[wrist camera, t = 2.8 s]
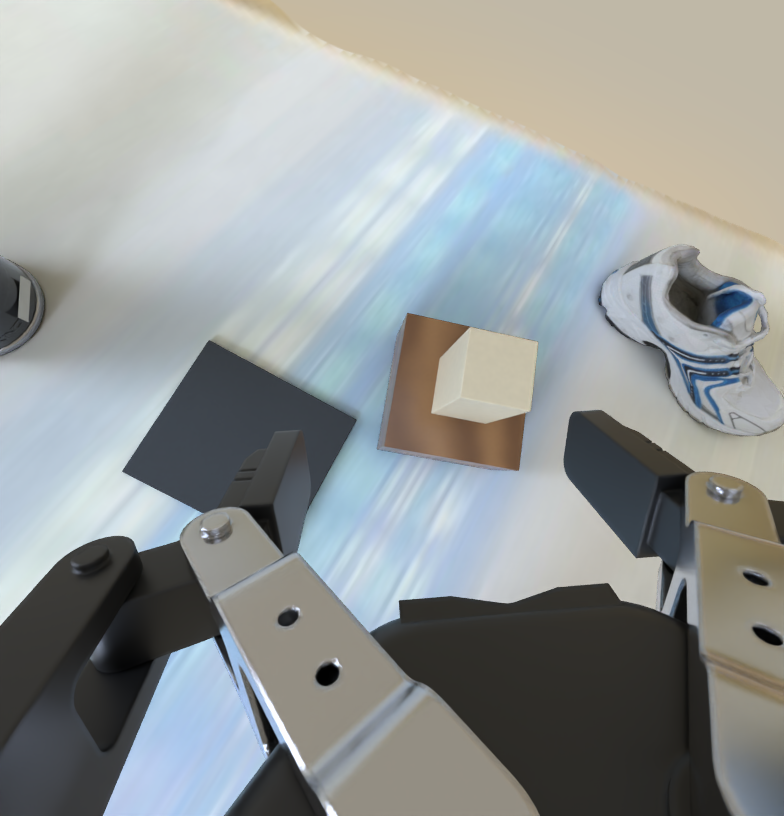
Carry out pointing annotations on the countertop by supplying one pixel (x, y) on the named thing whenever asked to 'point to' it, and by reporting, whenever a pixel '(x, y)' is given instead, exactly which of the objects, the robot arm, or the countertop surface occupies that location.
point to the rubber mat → (230, 429)
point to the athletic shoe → (699, 337)
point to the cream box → (485, 377)
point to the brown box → (413, 398)
